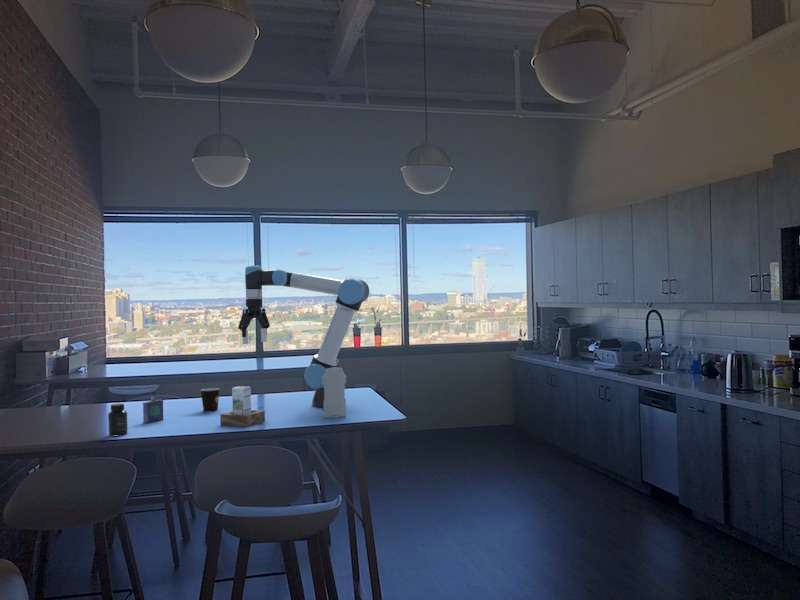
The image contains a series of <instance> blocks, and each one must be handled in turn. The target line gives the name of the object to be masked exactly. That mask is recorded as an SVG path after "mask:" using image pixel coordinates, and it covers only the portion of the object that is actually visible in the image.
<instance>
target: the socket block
mask: <svg viewBox="0 0 800 600" xmlns="http://www.w3.org/2000/svg"><path fill="white" fill-rule="evenodd" d="M265 412H266V411H265V410H258V409H251V413H250V414H246V415H236V414H233V410H232V411H228V412H224V413H221V414H220V415H219V416H220V417H219V418H220V420H219V421H220V422H219V423H220V426H229V427H238V428H239V427H240V428H247V427H250V426H253V425H257V424H260V422H261V423H264V422H265V421H266V418H265V417H266V416H265ZM263 421H264V422H263Z"/></svg>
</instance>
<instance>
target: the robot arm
mask: <svg viewBox="0 0 800 600" xmlns="http://www.w3.org/2000/svg"><path fill="white" fill-rule="evenodd" d="M244 270H245V271H244V272H245V274H244V279H245V298H246V299H245V306H246V307H247V308H243V309H242V312H241V313H242V314H241V318H240V321H239V323H238V330H240V331H241V338H242V345H249V330H248V328H249V326H250V323H251V322H252V320H253V319H256V320H257V321H258V323H259V324H260V326H261V328H260V338H261V339H260V342H261V343H267V342H268V340H267V339H268V335H267V334H268V329H269V328H270V327H271V324H270V322H269V318H268V315H267V312H266V308H264V307H262V306H263V299H262V298H263V291H262V287H263V286H266V287H267V286H268V287H271V286H275V287H276V286H279V287H285V288H286V287H287V288H293V289H298V290H304V291H310V292H316V293H322V294H328V295H333V296H336V299H335V305H336V308H335V310H334V313H333V316H332V319H331V321H330V323H329V326H328V328H327V331H326V333H325V335H324V338H323V340H322V343H321V345H320V348H319V351H318V353H317V354H314V355H313V356H312V359H311V361H310V363H309V364H310V365H308V366H307V367H306V369H305V370H304V375H303V376H304V381H305V383H306V384H307V385H308V386H309V387H310V388H312V389H315V391H314V395H313V397H312V403H311V404H312V405H311V406H313V407H316V408H324V403H323V402H324V398H325V397H324V385H323V384H322V376H323V375H324V373H325V369H328V368H332V367H337V368H340V360H339V359H338V358H337V357H338V354H339V352H340V350H341V346H342V344H343V342H344V340H345V337H346V334H347V332H348V330H349V327H350V325H351V322H352V320H353V317H354V314H356V313H357V312H359V311H360V309H361V306H362V304H363V302H365V301H366V300H367V299H368V297H369V295H370V287H369V285H368V283H367V282H366V281H364V280H363V279H360V278H355V277H353V278H351V277H350V278H344V279H342V280H341V279H335V278H330V277H322V276H317V275H312V274H304V273H299V272H294V271H293V272H292V271H288V270H285V269H279V268H277V269H263V268H262V267H261V266H260V265H248V266H246V267H245V269H244Z"/></svg>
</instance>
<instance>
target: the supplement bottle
mask: <svg viewBox="0 0 800 600" xmlns="http://www.w3.org/2000/svg"><path fill="white" fill-rule="evenodd" d="M110 410H111V411H110V412H109V413H108V414H107V418H108V424H107V425H108V435H123V436H126V435H127V434H128V412H127V410H125V404H124V403H112V404H111V405H110ZM125 434H126V435H125Z"/></svg>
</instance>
